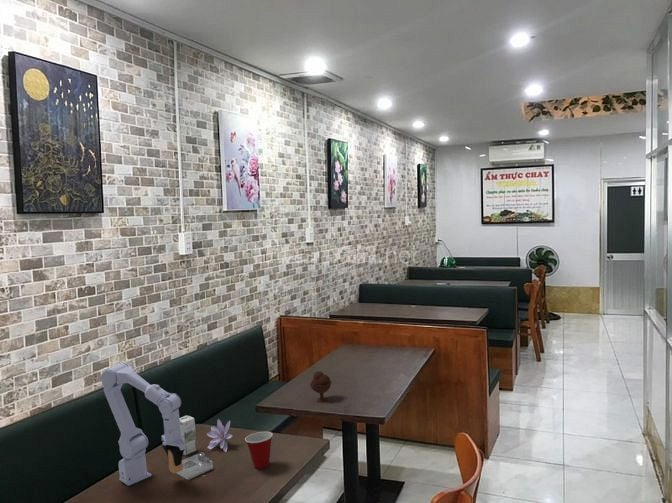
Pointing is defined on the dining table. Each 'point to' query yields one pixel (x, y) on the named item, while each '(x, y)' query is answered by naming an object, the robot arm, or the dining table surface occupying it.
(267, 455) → the plastic cup
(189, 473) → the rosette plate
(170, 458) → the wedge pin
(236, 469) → the dining table surface
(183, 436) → the syrup box
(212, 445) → the water lily
